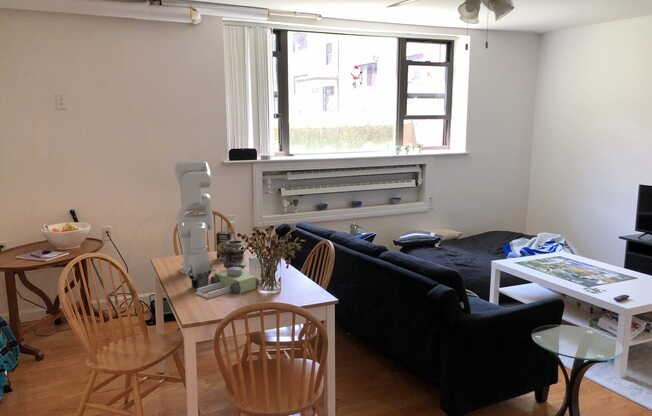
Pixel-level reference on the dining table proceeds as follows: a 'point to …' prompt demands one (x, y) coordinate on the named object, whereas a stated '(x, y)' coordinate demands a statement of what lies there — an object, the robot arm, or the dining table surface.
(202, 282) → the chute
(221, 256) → the coffee box
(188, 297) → the dining table surface
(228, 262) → the apothecary jar
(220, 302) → the dining table surface
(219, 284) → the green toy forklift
